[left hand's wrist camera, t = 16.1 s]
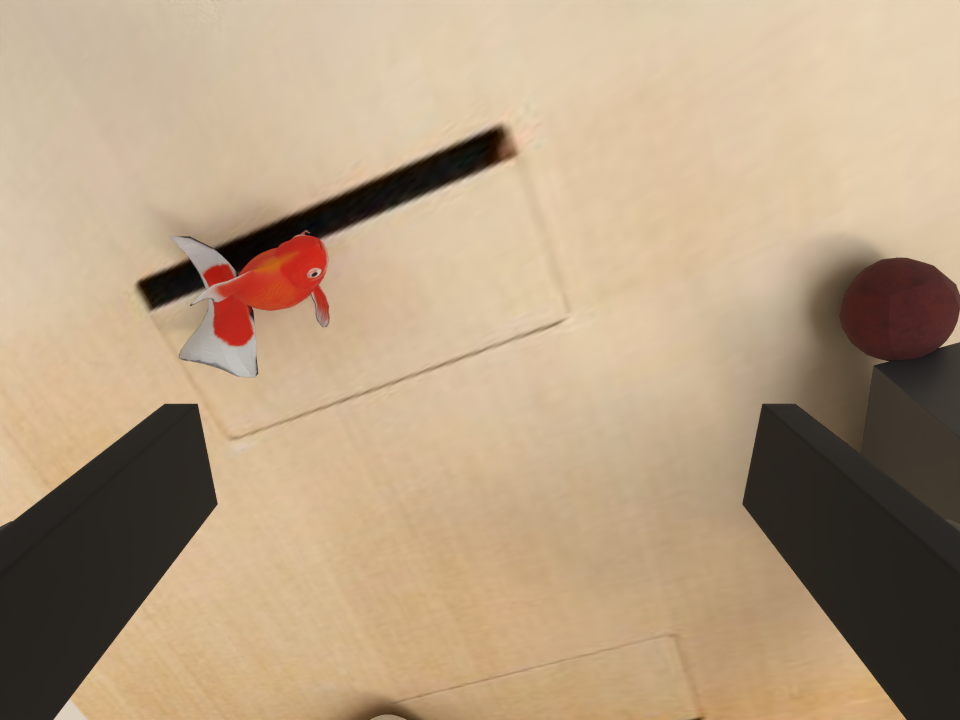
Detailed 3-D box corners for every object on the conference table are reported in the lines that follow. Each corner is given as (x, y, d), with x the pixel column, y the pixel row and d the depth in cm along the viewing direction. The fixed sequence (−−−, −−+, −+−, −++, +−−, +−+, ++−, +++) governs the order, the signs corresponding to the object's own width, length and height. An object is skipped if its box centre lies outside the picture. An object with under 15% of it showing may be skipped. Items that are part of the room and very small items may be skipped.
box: (872, 365, 40) (1008, 478, 31) (962, 340, 39) (1129, 449, 30) (847, 547, 53) (938, 667, 43) (915, 531, 52) (1022, 649, 43)
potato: (825, 354, 46) (884, 387, 39) (814, 267, 43) (875, 286, 36) (916, 327, 45) (992, 356, 38) (910, 237, 42) (991, 251, 36)
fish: (385, 359, 41) (277, 375, 32) (249, 378, 48) (133, 394, 40) (364, 217, 40) (250, 193, 32) (231, 258, 48) (110, 249, 40)
